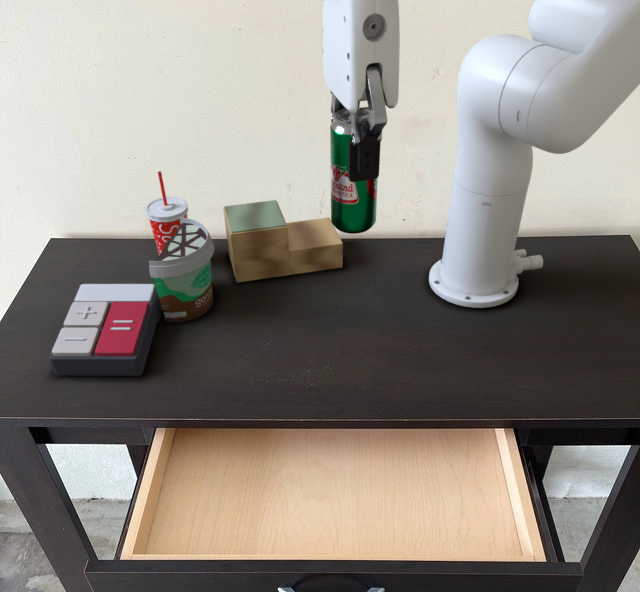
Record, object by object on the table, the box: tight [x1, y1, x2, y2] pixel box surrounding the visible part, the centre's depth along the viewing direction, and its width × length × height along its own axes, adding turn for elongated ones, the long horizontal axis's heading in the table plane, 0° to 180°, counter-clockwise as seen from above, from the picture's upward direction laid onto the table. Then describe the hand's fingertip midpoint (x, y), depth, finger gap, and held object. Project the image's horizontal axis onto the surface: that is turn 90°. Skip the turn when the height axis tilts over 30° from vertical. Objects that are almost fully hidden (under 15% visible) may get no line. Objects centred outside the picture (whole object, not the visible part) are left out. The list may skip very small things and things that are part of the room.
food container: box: [148, 217, 215, 323], centre depth 89 cm, size 12×6×10 cm, turn 168°
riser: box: [222, 199, 344, 283], centre depth 97 cm, size 16×8×8 cm, turn 104°
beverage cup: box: [144, 171, 189, 256], centre depth 95 cm, size 6×6×14 cm
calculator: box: [48, 283, 163, 377], centre depth 86 cm, size 11×4×15 cm
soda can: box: [329, 109, 379, 235], centre depth 70 cm, size 5×5×12 cm
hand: (354, 165), depth 70 cm, fingers closed on soda can, 5 cm apart
